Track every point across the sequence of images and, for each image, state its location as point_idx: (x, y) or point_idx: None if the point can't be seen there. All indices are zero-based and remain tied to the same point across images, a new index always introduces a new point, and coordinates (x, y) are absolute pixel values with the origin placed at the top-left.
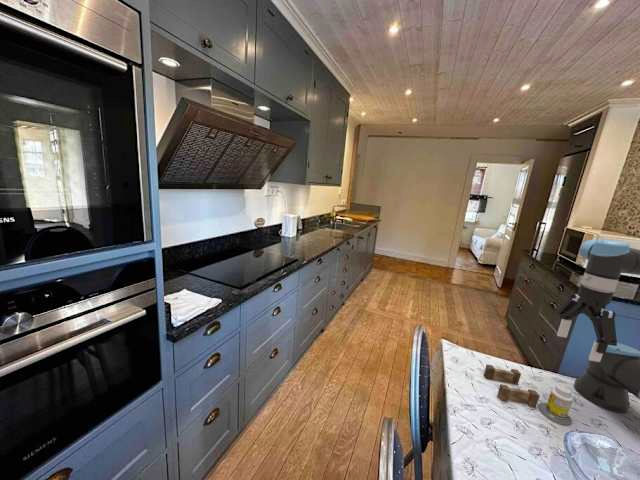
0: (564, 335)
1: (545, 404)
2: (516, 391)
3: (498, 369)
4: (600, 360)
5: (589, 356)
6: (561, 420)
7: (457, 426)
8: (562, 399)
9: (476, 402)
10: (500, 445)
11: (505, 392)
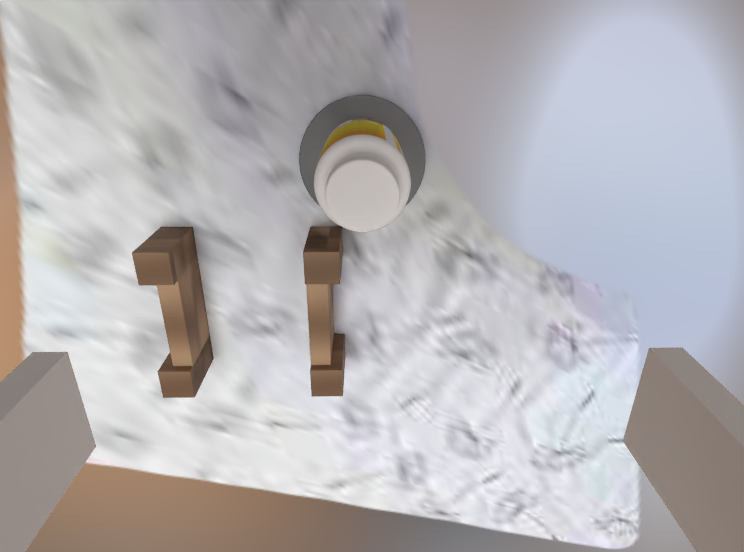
0: (60, 405)
1: (313, 172)
2: (329, 335)
3: (171, 344)
4: (695, 361)
5: (650, 472)
6: (406, 160)
7: (500, 519)
8: (403, 207)
9: (381, 441)
10: (552, 437)
11: (343, 375)
